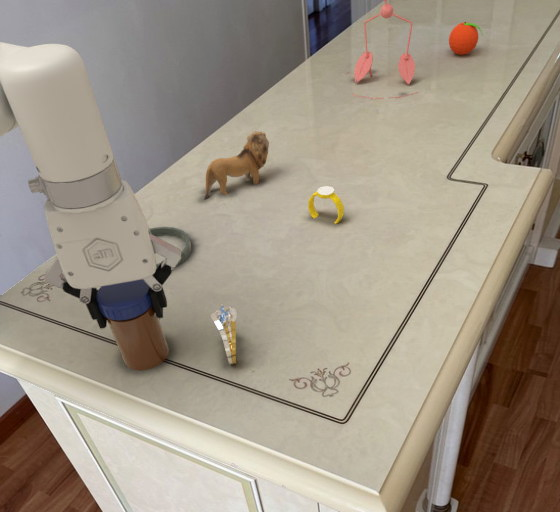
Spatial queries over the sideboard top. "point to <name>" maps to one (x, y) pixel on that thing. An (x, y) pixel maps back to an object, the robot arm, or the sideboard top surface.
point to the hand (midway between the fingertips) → (132, 315)
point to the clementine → (463, 38)
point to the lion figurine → (239, 163)
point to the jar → (140, 340)
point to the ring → (227, 330)
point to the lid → (124, 299)
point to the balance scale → (365, 61)
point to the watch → (326, 193)
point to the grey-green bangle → (178, 233)
